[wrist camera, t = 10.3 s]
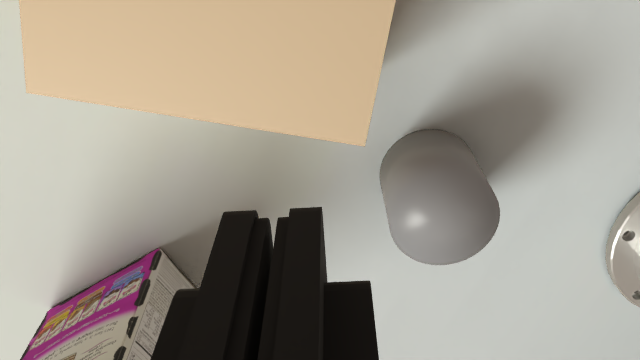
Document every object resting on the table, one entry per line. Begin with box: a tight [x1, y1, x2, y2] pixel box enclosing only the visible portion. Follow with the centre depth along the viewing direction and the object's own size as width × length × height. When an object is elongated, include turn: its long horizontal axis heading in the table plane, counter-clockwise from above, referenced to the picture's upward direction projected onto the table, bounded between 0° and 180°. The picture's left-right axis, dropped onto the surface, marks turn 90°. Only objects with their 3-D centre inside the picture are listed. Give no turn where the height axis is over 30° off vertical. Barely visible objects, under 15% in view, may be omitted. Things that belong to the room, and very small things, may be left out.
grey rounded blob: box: [380, 129, 500, 265], centre depth 37 cm, size 6×6×6 cm
